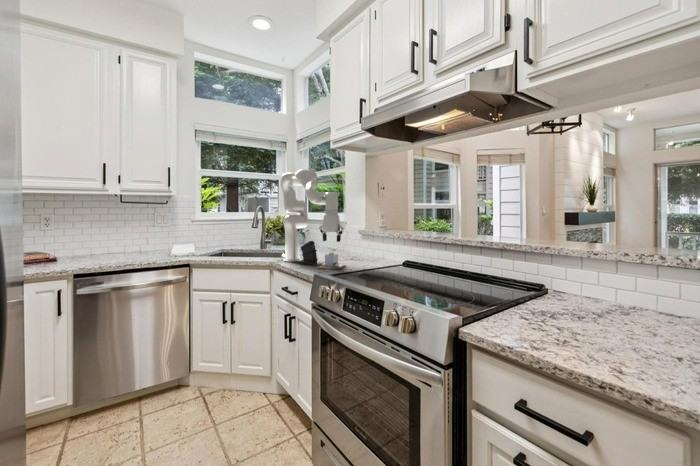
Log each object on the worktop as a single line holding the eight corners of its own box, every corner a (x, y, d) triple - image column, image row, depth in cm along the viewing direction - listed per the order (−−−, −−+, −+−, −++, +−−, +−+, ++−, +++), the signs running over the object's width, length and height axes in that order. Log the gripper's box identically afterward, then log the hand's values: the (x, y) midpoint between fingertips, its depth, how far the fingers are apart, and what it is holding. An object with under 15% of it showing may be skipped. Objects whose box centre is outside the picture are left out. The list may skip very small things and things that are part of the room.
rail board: (317, 268, 196) (317, 264, 196) (329, 265, 209) (329, 261, 209) (334, 270, 191) (334, 265, 191) (346, 266, 203) (346, 262, 203)
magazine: (316, 262, 207) (309, 240, 210) (304, 269, 215) (298, 248, 219) (320, 262, 209) (314, 240, 213) (309, 268, 218) (302, 247, 222)
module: (325, 266, 198) (324, 253, 197) (331, 264, 204) (331, 251, 204) (332, 266, 196) (332, 253, 195) (338, 265, 202) (338, 252, 201)
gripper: (316, 212, 198) (316, 241, 200) (341, 213, 190) (341, 242, 192) (322, 212, 205) (322, 240, 206) (347, 213, 197) (347, 241, 198)
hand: (331, 241), depth 199 cm, fingers open, 9 cm apart
